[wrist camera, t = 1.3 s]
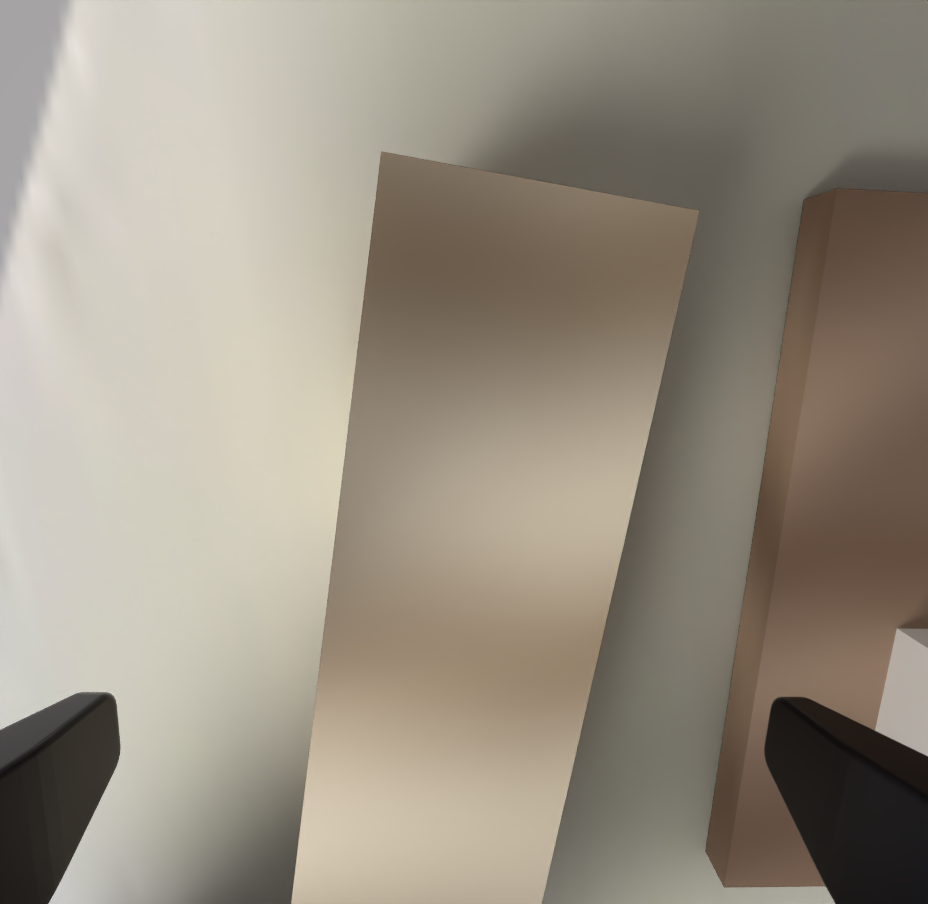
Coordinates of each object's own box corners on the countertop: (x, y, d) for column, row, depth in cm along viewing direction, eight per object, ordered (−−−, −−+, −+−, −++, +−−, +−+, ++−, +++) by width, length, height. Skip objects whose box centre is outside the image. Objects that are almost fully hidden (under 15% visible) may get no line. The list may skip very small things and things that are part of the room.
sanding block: (484, 816, 15) (507, 1054, 10) (328, 802, 15) (274, 1040, 10) (593, 257, 12) (700, 211, 7) (403, 224, 12) (381, 151, 7)
